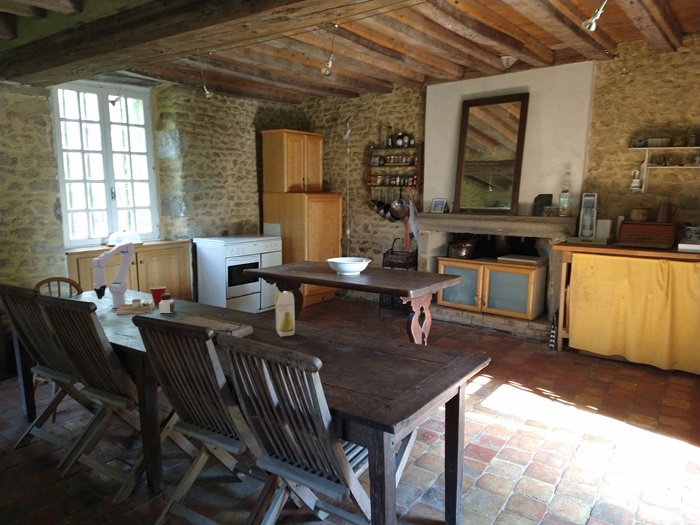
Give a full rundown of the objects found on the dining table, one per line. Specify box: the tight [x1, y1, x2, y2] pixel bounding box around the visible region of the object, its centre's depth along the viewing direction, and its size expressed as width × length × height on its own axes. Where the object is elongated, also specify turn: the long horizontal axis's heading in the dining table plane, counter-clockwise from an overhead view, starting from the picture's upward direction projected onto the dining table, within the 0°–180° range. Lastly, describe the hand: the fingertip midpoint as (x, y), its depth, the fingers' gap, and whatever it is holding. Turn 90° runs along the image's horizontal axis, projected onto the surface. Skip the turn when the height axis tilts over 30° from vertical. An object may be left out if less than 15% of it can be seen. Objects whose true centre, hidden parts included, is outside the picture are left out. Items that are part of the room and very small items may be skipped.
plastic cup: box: [149, 285, 167, 306], centre depth 333 cm, size 11×11×12 cm
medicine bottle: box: [158, 293, 175, 314], centre depth 310 cm, size 7×7×12 cm
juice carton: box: [274, 290, 296, 337], centre depth 262 cm, size 9×8×24 cm
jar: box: [131, 298, 142, 308], centre depth 314 cm, size 5×5×7 cm
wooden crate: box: [115, 299, 154, 316], centre depth 314 cm, size 12×20×6 cm, turn 106°
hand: (101, 297), depth 311 cm, fingers open, 7 cm apart
